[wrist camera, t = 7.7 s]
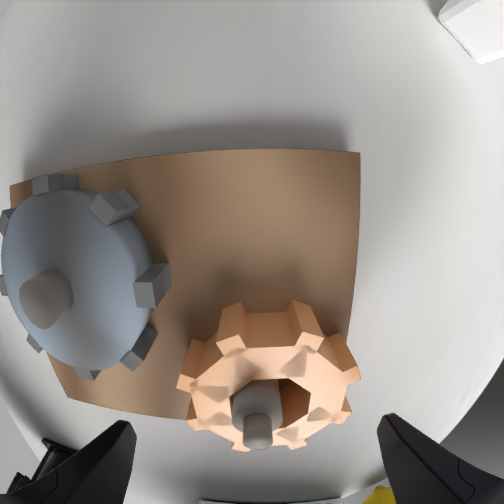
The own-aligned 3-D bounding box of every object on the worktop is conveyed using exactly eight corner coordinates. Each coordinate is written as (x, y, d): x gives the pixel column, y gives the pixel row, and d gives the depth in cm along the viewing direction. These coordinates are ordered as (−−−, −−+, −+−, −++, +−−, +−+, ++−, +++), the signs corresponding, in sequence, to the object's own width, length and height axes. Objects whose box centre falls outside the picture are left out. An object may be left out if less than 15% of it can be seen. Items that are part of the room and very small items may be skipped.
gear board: (75, 386, 14) (39, 439, 8) (24, 184, 10) (-52, 196, 5) (326, 401, 14) (347, 476, 8) (349, 154, 10) (425, 142, 5)
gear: (201, 415, 12) (195, 450, 10) (179, 302, 11) (162, 333, 8) (331, 409, 12) (341, 443, 10) (350, 295, 10) (373, 324, 8)
